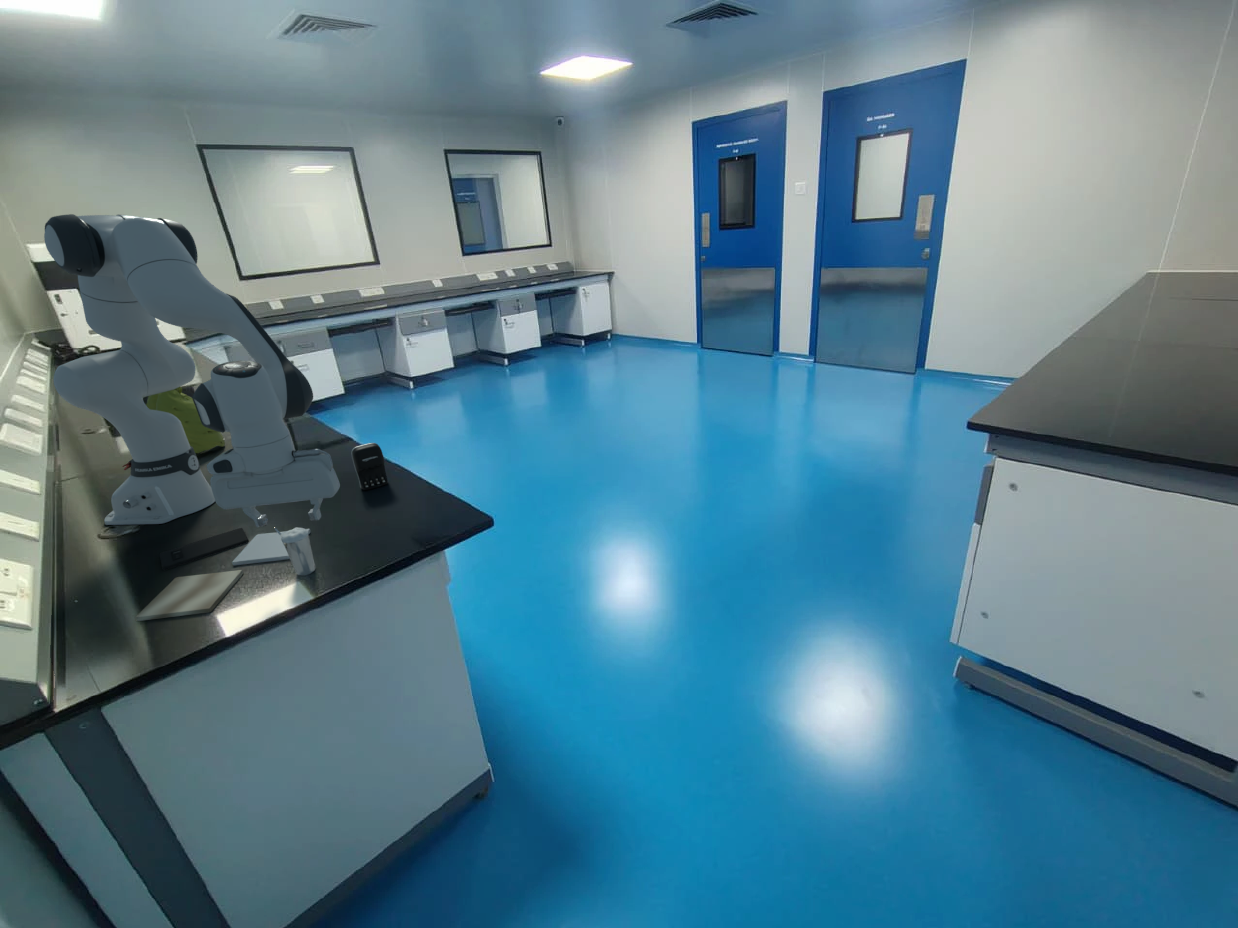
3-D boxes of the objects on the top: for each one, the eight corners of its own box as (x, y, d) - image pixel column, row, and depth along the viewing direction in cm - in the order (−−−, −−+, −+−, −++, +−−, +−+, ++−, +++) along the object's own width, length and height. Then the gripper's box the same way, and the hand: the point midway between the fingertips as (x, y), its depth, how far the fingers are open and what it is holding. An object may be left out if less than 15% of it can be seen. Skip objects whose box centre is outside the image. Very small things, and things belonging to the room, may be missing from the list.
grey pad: (233, 565, 110) (232, 562, 109) (258, 537, 120) (257, 534, 119) (291, 558, 111) (289, 555, 111) (310, 531, 121) (309, 528, 121)
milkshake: (295, 566, 108) (280, 522, 104) (323, 563, 109) (309, 519, 105) (284, 579, 104) (268, 534, 100) (313, 576, 105) (298, 531, 101)
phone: (248, 539, 118) (161, 567, 109) (250, 544, 118) (164, 572, 109) (241, 526, 123) (158, 552, 114) (243, 531, 124) (161, 557, 115)
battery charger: (363, 493, 138) (352, 451, 134) (359, 488, 141) (348, 447, 137) (391, 485, 142) (381, 444, 138) (387, 480, 145) (377, 440, 140)
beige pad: (136, 621, 95) (134, 617, 94) (177, 580, 106) (175, 577, 105) (211, 611, 96) (209, 608, 96) (243, 573, 107) (242, 569, 107)
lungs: (233, 450, 172) (206, 375, 162) (173, 466, 161) (141, 387, 152) (209, 435, 187) (183, 365, 178) (153, 449, 177) (123, 376, 167)
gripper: (333, 441, 101) (352, 507, 106) (215, 453, 98) (240, 520, 104) (321, 453, 95) (342, 523, 100) (195, 467, 93) (223, 537, 98)
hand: (289, 522), depth 102 cm, fingers open, 8 cm apart
